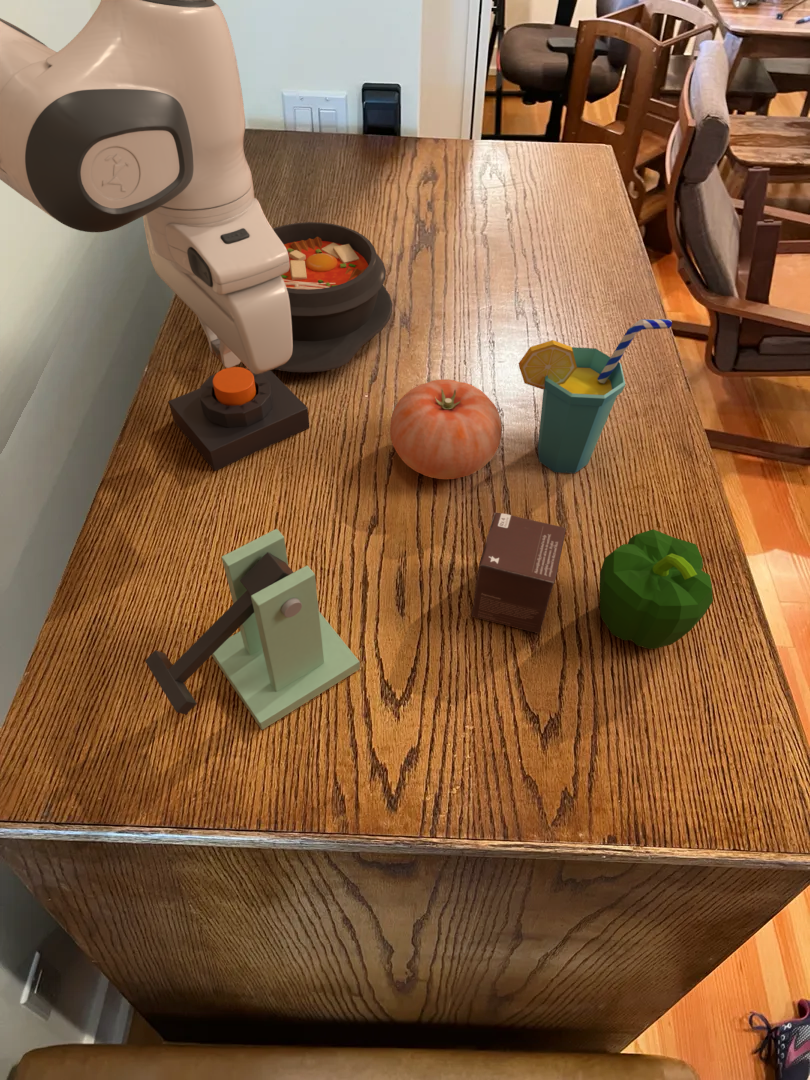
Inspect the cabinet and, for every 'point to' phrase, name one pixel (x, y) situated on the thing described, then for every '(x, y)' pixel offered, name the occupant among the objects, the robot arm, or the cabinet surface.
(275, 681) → the lever stand
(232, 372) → the button
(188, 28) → the robot arm
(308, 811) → the cabinet surface
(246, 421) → the button housing
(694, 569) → the bell pepper
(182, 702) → the lever
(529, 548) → the box
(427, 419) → the tomato
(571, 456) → the cup
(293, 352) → the casserole
